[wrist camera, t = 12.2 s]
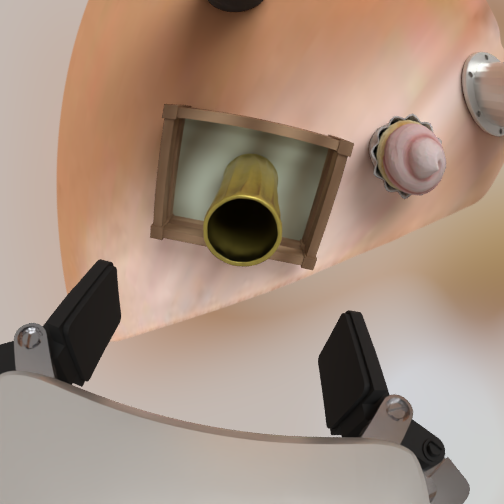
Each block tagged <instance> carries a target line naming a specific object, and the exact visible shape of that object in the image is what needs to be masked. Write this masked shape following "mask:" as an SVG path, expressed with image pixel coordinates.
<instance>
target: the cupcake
mask: <svg viewBox="0 0 504 504" xmlns="http://www.w3.org/2000/svg"><path fill="white" fill-rule="evenodd" d="M441 144H442V141H441V140H440V139H439V138H438V137H436V135H435V134H434V133H433V129H432V126H431V124H430V123H428V122H420V120H419V119H418V118H417V116H415V115H414V114H410V115H409V116H407V117H406V118H405V119H404V118H401V117H399V116H394V117H393V118H392V119H391V120H390V121H389V123H388V124H386V125H384V126H382V127H380V128H378V129H377V130H376V132H375V133H374V134H373V136H372V138H371V140H370V146H369V154H370V158H371V161H372V163H373V164H374V175H375V176H376V177H378V178H380V179H382V180H383V182H384V186H385V188H386V190H387V191H389V192H398V193H399V194H400V195H401V197H402V198H404V199H406V198H408V197H409V196H410V195H423V194H425V193H428V192H430V191H431V190H433V189H434V188H435V187H436V186H437V185H438V183H439V182H440V181H441V179H442V176H443V174H444V171H445V169H446V158H445V154H444V150H443V147H442V145H441Z"/></svg>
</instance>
